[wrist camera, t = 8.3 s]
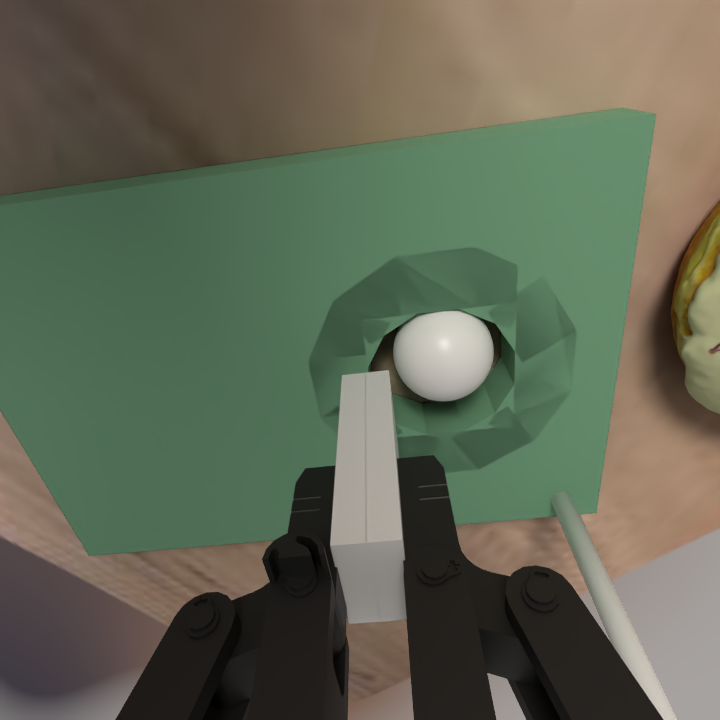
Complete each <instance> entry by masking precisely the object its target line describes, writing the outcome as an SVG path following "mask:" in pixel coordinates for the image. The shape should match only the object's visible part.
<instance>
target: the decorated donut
mask: <svg viewBox="0 0 720 720" xmlns="http://www.w3.org/2000/svg"><path fill="white" fill-rule="evenodd" d="M671 320H672V325H673V337H674V341H675V343H676V346H677V348H678V353H679V355H680V357H681V360H682V361H683V364H684V365H685V367H686V371H685V373H686V376H685V386H686V388H687V390H688V393H689V394H690V395H691V396H692V397H693V399H695V400H696V401H697V402H698V403H700V404H701V405H703V406H704V407H705V408H707V409H709V410H710V411H713V412H716V413H719V414H720V202H719V203H718V204H717V205H716V207H715V208H714V209H713V211H712V212H711V214H710V215H709V217H708V218H707V219H706V220H705V221H704V223H703V224H702V225H701V227H700V229H699V230H698V231H697V233H696V234H695V236H694V238H693V240H692V241H691V243H690V245H689V247H688V249H687V251H686V253H685V255H684V258H683V260H682V263H681V264H680V267H679V272H678V276H677V280H676V283H675V288H674V292H673V299H672V306H671Z"/></svg>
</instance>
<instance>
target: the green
mask: <svg viewBox="0 0 720 720" xmlns="http://www.w3.org/2000/svg"><path fill="white" fill-rule="evenodd" d="M655 118H656V114H654V113H648V112H642V111H637V110H631V109H626V108H619V109H612V110H605V111H597V112H590V113H583V114H576V115H569V116H562V117H555V118H548V119H541V120H534V121H526V122H519V123H512V124H505V125H498V126H491V127H484V128H477V129H470V130H463V131H455V132H448V133H441V134H434V135H427V136H420V137H413V138H406V139H399V140H392V141H385V142H377V143H370V144H363V145H356V146H349V147H342V148H335V149H328V150H321V151H314V152H306V153H299V154H292V155H285V156H278V157H271V158H264V159H257V160H250V161H243V162H235V163H228V164H221V165H214V166H207V167H200V168H193V169H186V170H179V171H172V172H164V173H157V174H150V175H143V176H136V177H129V178H122V179H115V180H108V181H101V182H93V183H86V184H79V185H72V186H65V187H58V188H51V189H44V190H37V191H30V192H23V193H15V194H8V195H1V196H0V410H1V412H2V414H3V415H4V417H5V419H6V420H7V422H8V424H9V425H10V427H11V429H12V430H13V432H14V433H15V435H16V437H17V438H18V440H19V442H20V443H21V445H22V447H23V448H24V450H25V452H26V453H27V455H28V456H29V458H30V460H31V461H32V463H33V465H34V466H35V468H36V470H37V471H38V473H39V475H40V476H41V478H42V479H43V481H44V483H45V484H46V486H47V488H48V489H49V491H50V493H51V494H52V496H53V498H54V499H55V501H56V502H57V504H58V506H59V507H60V509H61V511H62V512H63V514H64V516H65V517H66V519H67V521H68V522H69V524H70V525H71V527H72V529H73V530H74V532H75V534H76V535H77V537H78V539H79V540H80V542H81V543H82V545H83V547H84V548H85V550H86V552H87V553H88V555H89V556H95V555H107V554H119V553H131V552H142V551H154V550H166V549H178V548H190V547H201V546H213V545H225V544H237V543H248V542H260V541H272V540H276V539H278V538H279V537H281V536H283V535H284V534H287V533H288V527H289V521H290V515H291V508H292V502H293V496H294V490H295V484H296V481H297V480H298V478H299V477H300V475H301V474H302V472H303V471H304V470H305V468H314V467H324V466H335V465H336V454H337V440H338V425H339V411H340V397H341V383H342V375H348V374H358V373H367V372H373V371H372V369H371V361H372V359H373V357H374V355H375V353H376V351H377V349H378V346H379V344H380V342H381V340H382V338H383V336H385V335H386V334H388V333H389V332H391V331H392V330H394V329H395V328H397V327H398V326H400V325H401V324H403V323H404V322H406V321H407V320H409V319H410V318H412V317H413V316H415V315H416V314H421V313H429V312H438V311H447V310H455V309H460V310H462V311H465V312H467V313H470V314H473V315H475V316H478V317H480V318H483V319H485V320H488V321H490V322H493V323H495V324H496V325H497V327H498V328H499V330H500V331H501V357H500V358H499V360H498V362H497V363H496V365H495V366H494V368H493V369H492V371H491V372H490V374H489V376H488V377H487V379H486V380H485V382H484V383H483V384H481V385H480V386H479V387H478V388H477V389H476V390H475V391H473V392H472V393H470V394H469V395H467V396H465V397H463V398H460V399H457V400H453V401H439V402H429V403H420V402H417V401H414V400H411V399H408V398H405V397H402V396H400V395H397V394H394V393H392V400H393V408H394V416H395V425H396V433H397V443H398V454H399V458H407V457H417V456H428V455H434V456H435V457H436V459H437V460H438V461H439V462H440V463H441V465H442V466H443V467H444V471H445V476H446V481H447V486H448V491H449V497H450V501H451V506H452V511H453V516H454V521H455V525H461V524H472V523H484V522H496V521H508V520H520V519H531V518H543V517H555V516H557V517H558V519H559V521H560V524H561V526H562V528H563V531H564V533H565V536H566V538H567V540H568V543H569V545H570V547H571V550H572V552H573V554H574V557H575V559H576V561H577V564H578V566H579V569H580V571H581V573H582V576H583V578H584V580H585V583H586V585H587V587H588V590H589V592H590V594H591V597H592V599H593V601H594V604H595V606H596V609H597V611H598V613H599V616H600V618H601V620H602V622H603V625H604V627H605V630H606V632H607V634H608V637H609V639H610V641H611V644H612V645H613V647H614V648H615V650H616V651H617V652H618V654H619V655H620V657H621V658H622V660H623V661H624V663H625V664H626V666H627V667H628V668H629V670H630V671H631V673H632V674H633V676H634V677H635V679H636V680H637V682H638V683H639V684H640V686H641V687H642V689H643V690H644V692H645V693H646V695H647V696H648V698H649V699H650V701H651V702H652V703H653V705H654V706H655V708H656V709H657V711H658V712H659V714H660V715H661V717H662V718H663V719H664V720H677V718H676V716H675V714H674V712H673V710H672V708H671V705H670V703H669V701H668V699H667V697H666V695H665V693H664V691H663V689H662V687H661V684H660V682H659V680H658V678H657V676H656V674H655V672H654V670H653V668H652V666H651V663H650V661H649V659H648V657H647V655H646V653H645V651H644V649H643V647H642V645H641V642H640V640H639V638H638V636H637V634H636V632H635V630H634V628H633V626H632V624H631V622H630V619H629V617H628V615H627V613H626V611H625V609H624V607H623V605H622V602H621V601H620V598H619V596H618V594H617V592H616V590H615V588H614V586H613V584H612V581H611V579H610V577H609V575H608V573H607V571H606V569H605V567H604V565H603V563H602V560H601V558H600V556H599V554H598V552H597V550H596V548H595V546H594V544H593V542H592V539H591V537H590V535H589V533H588V531H587V529H586V527H585V525H584V523H583V521H582V518H581V516H580V514H590V513H596V511H597V505H598V498H599V491H600V485H601V478H602V471H603V465H604V458H605V451H606V445H607V438H608V432H609V425H610V418H611V412H612V405H613V398H614V392H615V385H616V378H617V372H618V365H619V358H620V352H621V345H622V338H623V332H624V325H625V318H626V312H627V305H628V298H629V292H630V285H631V278H632V272H633V265H634V258H635V252H636V245H637V238H638V232H639V225H640V218H641V212H642V205H643V198H644V192H645V185H646V178H647V172H648V165H649V158H650V152H651V145H652V138H653V132H654V125H655Z"/></svg>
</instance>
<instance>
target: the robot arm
mask: <svg viewBox="0 0 720 720" xmlns="http://www.w3.org/2000/svg"><path fill="white" fill-rule="evenodd" d="M262 560H263V563H264V566H265V569H266V572H267V575H268V578H269V580H270V582H269V583H268V584H266V585H265V586H264V587H262V588H261V589H259V590H257V591H255V592H253V593H250V594H247V595H245V596H242V597H240V598H237V599H234V600H232V601H231V600H230V598H229V597H228V596H227V595H224V594H222V593H219V592H209V593H204V594H202V595H199V596H197V597H194V598H193V599H192V600H190V601H189V602H188V603H186V604H185V605H184V606H183V607H182V608H181V609H180V611H179V612H178V613H177V615H176V616H175V617H174V619H173V621H172V623H171V624H170V626H169V628H168V630H167V631H166V633H165V635H164V637H163V639H162V640H161V642H160V643H159V645H158V647H157V649H156V650H155V652H154V654H153V656H152V657H151V659H150V661H149V663H148V664H147V666H146V668H145V670H144V671H143V673H142V675H141V677H140V678H139V680H138V682H137V684H136V685H135V687H134V689H133V690H132V692H131V694H130V696H129V697H128V699H127V701H126V702H125V704H124V706H123V708H122V710H121V711H120V713H119V715H118V716H117V718H116V720H347V716H348V673H349V647H348V641H347V636H346V615H347V619H348V623H349V624H356V623H370V622H384V621H398V620H407V630H408V644H409V657H410V671H411V685H412V696H413V697H412V698H413V712H414V720H496V716H495V711H494V706H493V701H492V696H491V690H490V685H489V680H488V676H487V673H490V674H494V675H497V676H500V677H504V678H507V679H508V681H509V684H510V685H511V687H512V690H513V692H514V694H515V696H516V698H517V701H518V702H519V705H520V707H521V709H522V711H523V713H524V715H525V717H526V720H664V719H663V718H662V717H661V715H660V714H659V712H658V711H657V709H656V708H655V706H654V705H653V703H652V702H651V701H650V699H649V698H648V696H647V695H646V693H645V692H644V690H643V689H642V687H641V686H640V684H639V683H638V682H637V680H636V679H635V677H634V676H633V674H632V673H631V671H630V670H629V668H628V667H627V666H626V664H625V663H624V661H623V660H622V658H621V657H620V655H619V654H618V652H617V651H616V650H615V648H614V647H613V645H612V644H611V642H610V641H609V639H608V638H607V636H606V635H605V634H604V632H603V631H602V629H601V628H600V626H599V625H598V623H597V622H596V620H595V619H594V618H593V616H592V615H591V613H590V612H589V610H588V609H587V607H586V606H585V604H584V603H583V601H582V600H581V599H580V597H579V596H578V594H577V593H576V591H575V590H574V588H573V587H572V585H571V584H570V583H569V582H568V581H567V580H566V579H565V578H564V577H563V576H562V575H560V574H559V573H557V572H555V571H553V570H551V569H550V568H545V567H540V566H528V567H522V568H521V569H519V570H517V571H515V572H513V574H512V575H511V576H505V575H501V574H496V573H492V572H489V571H486V570H482V569H480V568H479V567H477V566H475V565H473V564H472V563H471V562H470V561H469V560H468V559H467V558H466V557H465V555H464V554H463V553H462V551H461V548H460V545H459V542H458V537H457V532H456V527H455V521H454V516H453V511H452V506H451V501H450V497H449V491H448V486H447V481H446V476H445V471H444V467H443V466H442V465H441V463H440V462H439V461H438V460H437V459H436V457H435V456H434V455H428V456H417V457H407V458H399V454H398V443H397V433H396V425H395V416H394V408H393V400H392V391H391V383H390V375H389V370H386V371H376V372H367V373H358V374H348V375H342V383H341V397H340V411H339V425H338V440H337V454H336V465H335V466H324V467H314V468H305V470H304V471H303V472H302V474H301V475H300V477H299V478H298V480H297V481H296V484H295V490H294V496H293V502H292V508H291V515H290V521H289V527H288V533H287V534H284V535H283V536H281V537H279V538H278V539H276V540H274V541H273V543H272V544H271V545H270V546H269V547H268V548H267V549H266V551H265V554H264V556H263V559H262Z"/></svg>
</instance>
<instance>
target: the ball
mask: <svg viewBox="0 0 720 720" xmlns="http://www.w3.org/2000/svg"><path fill="white" fill-rule="evenodd" d="M493 355H494V349H493V341H492V338H491V334H490V332H489V330H488V328H487V326H486V325H485V323H484V322H483V321H482V320H481V319H480V317H478V316H475V315H473V314H470V313H467V312H465V311H462V310H460V309H455V310H447V311H438V312H429V313H421V314H416V315H415V316H413V317H412V318H410V319H409V320H407V321H406V322H404V323H403V324H402V325H401V326H400V328H399V330H398V332H397V334H396V337H395V341H394V346H393V358H394V363H395V367H396V370H397V372H398V374H399V376H400V378H401V379H402V381H403V382H404V383H405V385H406V386H407V387H408V388H409V389H411V390H412V391H413V392H415V393H416V394H418V395H419V396H421V397H424V398H426V399H429V400H434V401H453V400H457V399H460V398H463V397H465V396H467V395H469V394H470V393H472V392H473V391H475V390H476V389H477V388H478V387H479V386H480V385H481V384H482V383H483V382H484V380H485V379H486V377H487V375H488V373H489V371H490V369H491V366H492V362H493Z"/></svg>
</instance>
